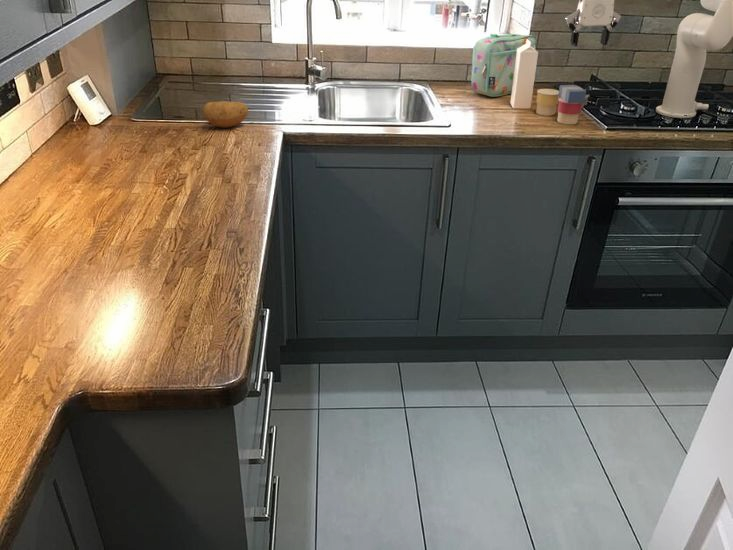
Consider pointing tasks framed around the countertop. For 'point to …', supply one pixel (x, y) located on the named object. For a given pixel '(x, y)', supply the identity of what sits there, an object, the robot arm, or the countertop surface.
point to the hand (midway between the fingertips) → (588, 45)
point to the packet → (572, 93)
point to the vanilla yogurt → (547, 101)
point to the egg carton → (582, 103)
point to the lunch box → (496, 63)
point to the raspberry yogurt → (568, 112)
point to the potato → (225, 113)
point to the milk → (524, 76)
